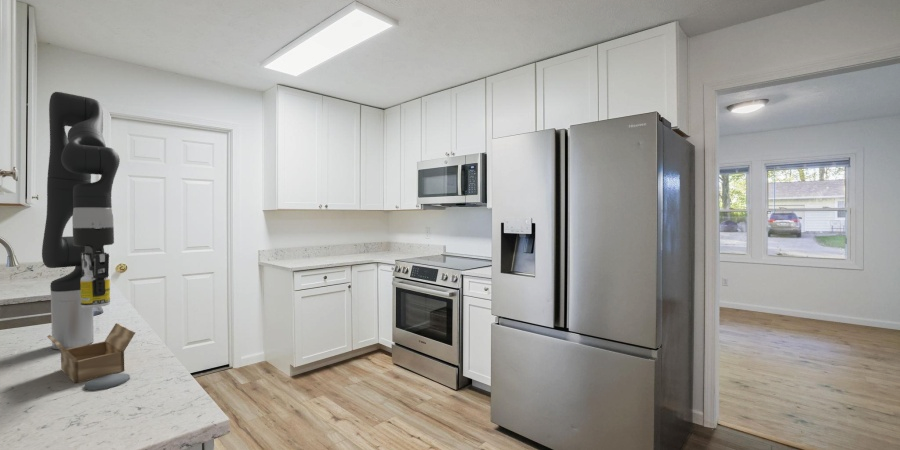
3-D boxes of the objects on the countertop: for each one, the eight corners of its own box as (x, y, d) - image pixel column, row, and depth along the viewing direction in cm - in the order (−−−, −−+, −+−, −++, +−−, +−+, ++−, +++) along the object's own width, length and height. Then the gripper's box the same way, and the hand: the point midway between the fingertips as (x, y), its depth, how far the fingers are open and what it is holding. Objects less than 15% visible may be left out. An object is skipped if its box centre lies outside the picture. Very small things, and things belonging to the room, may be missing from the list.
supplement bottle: (92, 308, 94) (91, 268, 94) (75, 308, 95) (73, 268, 95) (116, 303, 99) (114, 265, 99) (99, 303, 100) (97, 265, 100)
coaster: (80, 384, 91) (80, 381, 91) (123, 373, 98) (123, 370, 98) (90, 393, 87) (89, 390, 87) (134, 381, 93) (134, 378, 93)
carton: (47, 372, 98) (46, 335, 98) (119, 356, 110) (118, 322, 109) (60, 387, 90) (59, 346, 90) (136, 367, 101) (135, 331, 101)
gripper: (65, 226, 98) (67, 293, 98) (80, 226, 89) (82, 300, 90) (104, 226, 104) (106, 289, 104) (122, 225, 96) (124, 294, 96)
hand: (95, 293), depth 97 cm, fingers closed on supplement bottle, 5 cm apart
